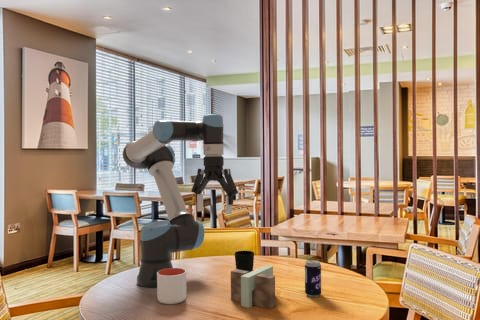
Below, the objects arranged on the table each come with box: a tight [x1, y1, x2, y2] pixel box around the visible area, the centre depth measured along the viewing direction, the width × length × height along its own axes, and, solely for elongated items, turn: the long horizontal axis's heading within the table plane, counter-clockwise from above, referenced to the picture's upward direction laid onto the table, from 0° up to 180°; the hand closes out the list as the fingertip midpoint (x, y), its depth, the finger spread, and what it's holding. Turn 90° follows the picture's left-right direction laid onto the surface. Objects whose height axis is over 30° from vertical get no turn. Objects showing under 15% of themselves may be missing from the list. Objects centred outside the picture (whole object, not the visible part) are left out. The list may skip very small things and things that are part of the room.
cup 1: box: [156, 267, 187, 305], centre depth 146 cm, size 10×10×10 cm
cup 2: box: [234, 250, 255, 272], centre depth 164 cm, size 8×8×12 cm
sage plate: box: [240, 264, 274, 308], centre depth 145 cm, size 16×3×10 cm, turn 145°
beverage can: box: [304, 259, 322, 298], centre depth 149 cm, size 6×6×12 cm
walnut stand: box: [230, 268, 276, 310], centre depth 142 cm, size 16×3×10 cm, turn 55°
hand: (214, 212), depth 157 cm, fingers open, 13 cm apart
